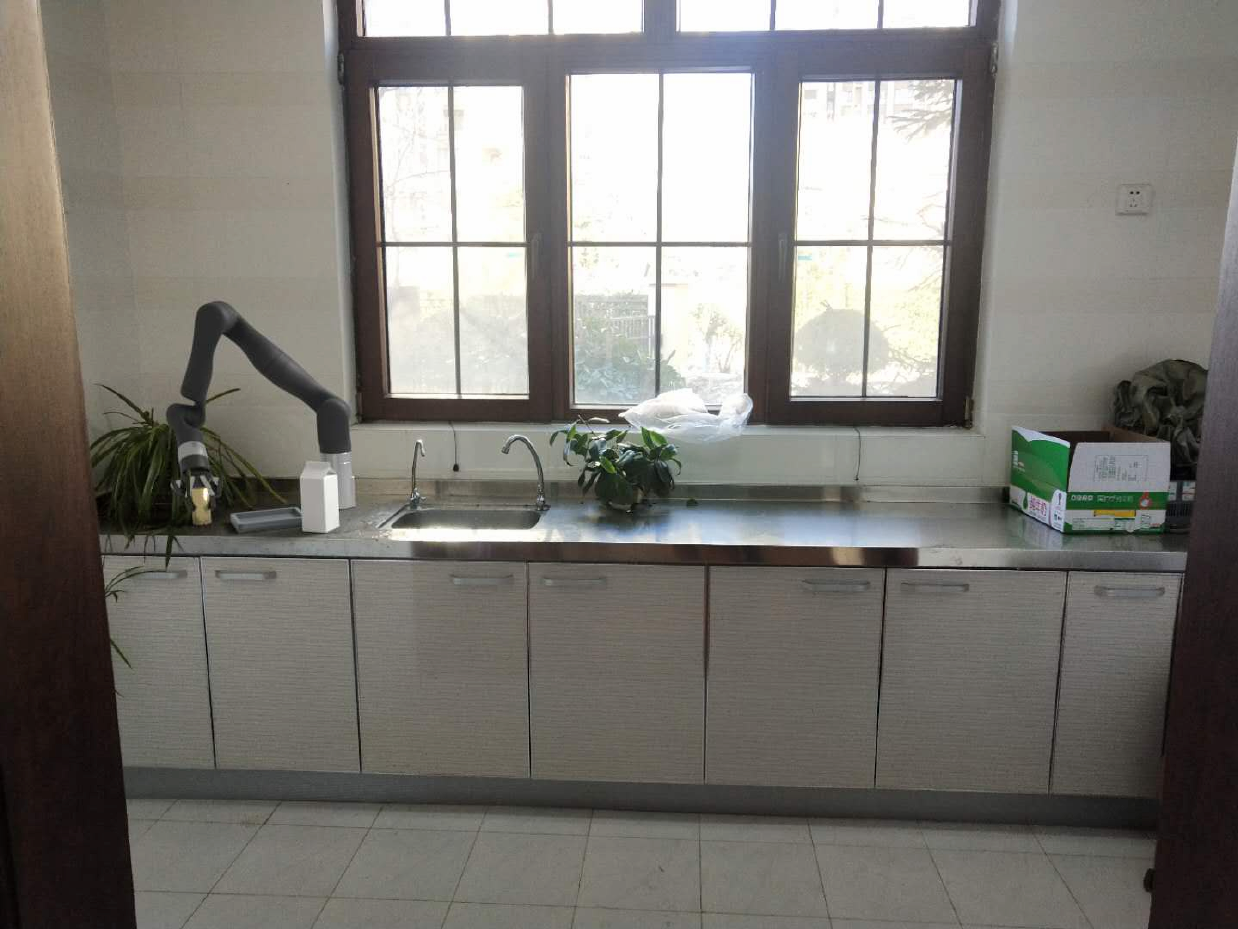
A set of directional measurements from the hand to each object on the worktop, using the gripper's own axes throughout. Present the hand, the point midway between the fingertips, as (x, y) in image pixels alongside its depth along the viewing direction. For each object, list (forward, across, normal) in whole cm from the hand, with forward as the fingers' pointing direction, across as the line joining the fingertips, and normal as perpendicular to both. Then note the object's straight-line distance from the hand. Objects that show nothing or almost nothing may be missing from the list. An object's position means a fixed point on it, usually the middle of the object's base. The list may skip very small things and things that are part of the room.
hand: (202, 510), depth 236 cm
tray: (+9, +16, -3) cm, 18 cm away
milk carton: (+18, +27, -12) cm, 35 cm away
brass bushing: (+2, 0, +4) cm, 5 cm away
